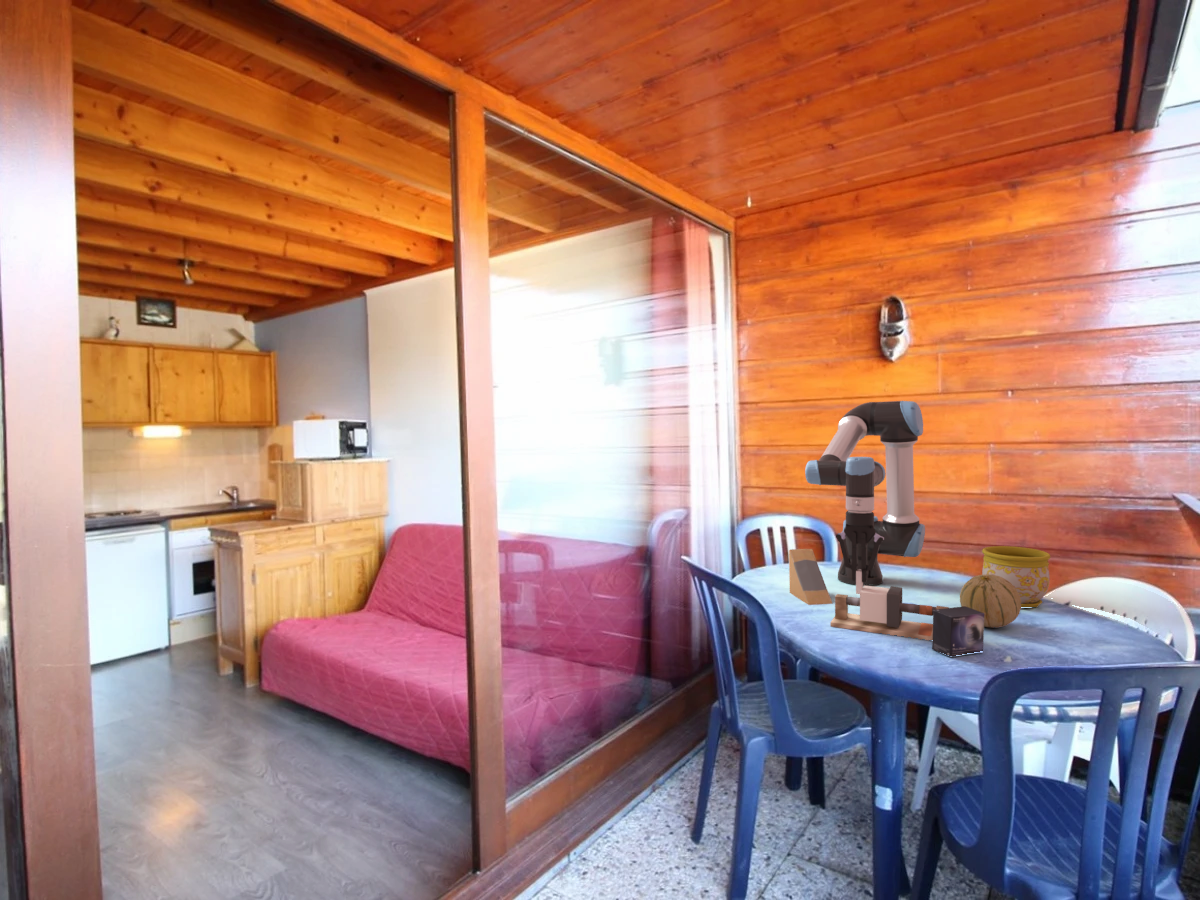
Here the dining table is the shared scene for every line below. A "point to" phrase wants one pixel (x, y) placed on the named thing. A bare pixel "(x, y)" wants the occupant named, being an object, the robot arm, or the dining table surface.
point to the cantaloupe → (992, 599)
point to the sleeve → (873, 604)
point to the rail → (905, 628)
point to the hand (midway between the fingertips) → (859, 592)
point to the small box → (958, 630)
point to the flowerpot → (1020, 570)
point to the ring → (894, 606)
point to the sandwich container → (807, 578)
